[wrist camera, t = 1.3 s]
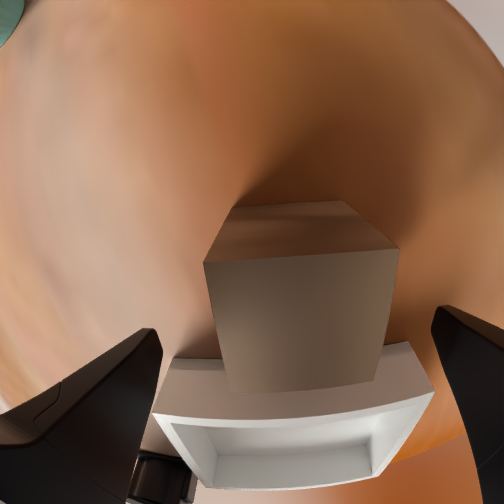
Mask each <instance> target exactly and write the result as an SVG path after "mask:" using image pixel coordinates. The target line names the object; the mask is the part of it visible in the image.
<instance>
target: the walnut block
mask: <svg viewBox="0 0 504 504" xmlns="http://www.w3.org/2000/svg"><path fill="white" fill-rule="evenodd" d="M399 249H400V248H399V247H397V246H396V245H395V244H394V243H393V242H392V241H391V240H390V239H388V238H387V237H386V236H385V235H384V234H383V233H382V232H380V231H379V230H378V229H377V228H376V227H375V226H373V225H372V224H371V223H370V222H369V221H367V220H366V219H365V218H364V217H363V216H361V215H360V214H359V213H358V212H357V211H355V210H354V209H353V208H352V207H350V206H349V205H348V204H347V203H345V202H344V201H343V200H336V201H315V202H298V203H283V204H269V205H256V206H244V207H233V208H231V210H230V212H229V214H228V216H227V218H226V220H225V221H224V223H223V225H222V227H221V229H220V231H219V233H218V235H217V236H216V238H215V240H214V242H213V244H212V246H211V248H210V250H209V252H208V254H207V256H206V258H205V260H204V261H203V265H204V271H205V276H206V281H207V287H208V292H209V297H210V302H211V307H212V312H213V317H214V322H215V326H216V331H217V336H218V340H219V345H220V349H221V354H222V358H223V362H224V366H225V371H226V375H227V379H228V383H229V387H230V391H231V393H276V392H292V391H305V390H315V389H324V388H333V387H340V386H347V385H354V384H360V383H366V382H371V381H373V380H374V377H375V373H376V370H377V366H378V362H379V359H380V355H381V351H382V347H383V343H384V339H385V334H386V330H387V325H388V320H389V315H390V310H391V305H392V299H393V293H394V287H395V280H396V273H397V266H398V258H399Z"/></svg>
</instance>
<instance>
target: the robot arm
mask: <svg viewBox="0 0 504 504" xmlns="http://www.w3.org/2000/svg"><path fill="white" fill-rule="evenodd" d="M431 334H432V337H433V340H434V343H435V345H436V348H437V351H438V354H439V357H440V361H441V364H442V367H443V370H444V372H445V375H446V377H447V380H448V382H449V384H450V387H451V389H452V392H453V395H454V397H455V400H456V403H457V405H458V408H459V411H460V414H461V417H462V420H463V423H464V426H465V429H466V432H467V435H468V438H469V442H470V445H471V449H472V452H473V456H474V460H475V464H476V468H477V473H478V477H479V483H480V488H481V493H482V499H483V504H504V330H503V329H501V328H499V327H497V326H495V325H493V324H490V323H488V322H486V321H484V320H482V319H480V318H477V317H475V316H473V315H471V314H468V313H466V312H464V311H462V310H460V309H457V308H455V307H453V306H451V305H442V306H439V307H437V309H436V311H435V315H434V318H433V322H432V325H431ZM162 357H163V349H162V346H161V343H160V340H159V337H158V334H157V332H156V330H155V329H153V328H142V329H140V330H139V331H137V332H136V333H134V334H133V335H131V336H130V337H128V338H127V339H125V340H124V341H122V342H120V343H119V344H117V345H116V346H114V347H113V348H111V349H110V350H108V351H107V352H105V353H104V354H102V355H100V356H99V357H97V358H96V359H94V360H93V361H91V362H90V363H88V364H87V365H85V366H83V367H82V368H80V369H79V370H77V371H76V372H74V373H73V374H71V375H70V376H68V377H66V378H65V379H63V380H62V382H59V383H57V384H56V385H54V386H52V387H51V388H49V389H48V390H46V391H44V392H43V393H41V394H39V395H38V396H36V397H34V398H32V399H30V400H28V401H27V402H25V403H23V404H21V405H19V406H17V407H15V408H13V409H11V410H9V411H7V412H5V413H3V414H1V415H0V504H126V503H125V502H128V503H130V504H192V503H193V501H194V496H195V491H196V486H197V480H198V477H197V476H196V475H195V474H194V473H193V471H192V470H191V469H190V467H189V466H188V465H187V464H186V462H185V461H184V460H183V459H179V458H173V457H167V456H161V455H156V454H151V453H146V452H141V451H139V448H140V445H141V441H142V438H143V434H144V431H145V427H146V424H147V420H148V417H149V414H150V410H151V407H152V404H153V400H154V397H155V393H156V388H157V383H158V377H159V372H160V367H161V362H162ZM137 458H138V461H137V464H136V467H135V463H136V460H137ZM134 467H135V470H134ZM133 471H134V473H133ZM132 475H133V476H132Z"/></svg>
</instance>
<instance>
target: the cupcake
mask: <svg viewBox="0 0 504 504" xmlns="http://www.w3.org/2000/svg"><path fill="white" fill-rule="evenodd" d="M23 9H24V0H0V47H1V46H2V45H3V44H4V43H5V42H6V40H7V39H8V38H9V37H10V35H11V34H12V32H13V31H14V29H15V27H16V25H17V24H18V22H19V20H20V18H21V15H22V13H23Z"/></svg>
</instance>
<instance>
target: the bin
mask: <svg viewBox="0 0 504 504" xmlns="http://www.w3.org/2000/svg"><path fill="white" fill-rule="evenodd" d="M434 393H435V390H434V388H433V386H432V384H431V382H430V380H429V378H428V376H427V374H426V372H425V370H424V369H423V367H422V365H421V363H420V361H419V359H418V358H417V356H416V354H415V352H414V350H413V349H412V347H411V345H410V343H409V342H408V341H406V342H400V343H395V344H390V345H384V346H383V347H382V351H381V355H380V359H379V362H378V366H377V370H376V373H375V377H374V380H373V381H371V382H366V383H360V384H354V385H347V386H340V387H333V388H324V389H315V390H305V391H292V392H276V393H231V391H230V387H229V383H228V379H227V375H226V371H225V366H224V362H223V359H182V358H173V359H172V361H171V364H170V366H169V369H168V371H167V374H166V377H165V379H164V382H163V384H162V387H161V389H160V392H159V395H158V397H157V400H156V403H155V405H154V408H153V411H152V414H153V416H154V417H155V419H156V421H157V422H158V424H159V425H160V427H161V428H162V430H163V431H164V433H165V434H166V436H167V437H168V439H169V440H170V442H171V443H172V444H173V446H174V447H175V449H176V450H177V451H178V453H179V454H180V456H181V457H182V458H183V460H184V461H185V462H186V464H187V465H188V466H189V467H190V469H191V470H192V471H193V473H194V474H195V475H196V476H197V477H198V479H199V480H200V481H201V482H202V483H203V485H204V486H205V487H206V488H215V489H227V490H247V491H248V490H249V491H271V490H272V491H274V490H294V489H306V488H315V487H324V486H331V485H338V484H343V483H349V482H355V481H359V480H364V479H369V478H373V477H377V476H379V475H380V474H381V473H382V471H383V470H384V469H385V468H386V466H387V465H388V464H389V463H390V461H391V460H392V459H393V457H394V456H395V455H396V453H397V452H398V451H399V449H400V448H401V446H402V445H403V443H404V442H405V441H406V439H407V438H408V436H409V435H410V433H411V432H412V430H413V429H414V427H415V425H416V424H417V422H418V421H419V419H420V417H421V416H422V414H423V412H424V411H425V409H426V407H427V406H428V404H429V402H430V400H431V398H432V397H433V395H434Z"/></svg>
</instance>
